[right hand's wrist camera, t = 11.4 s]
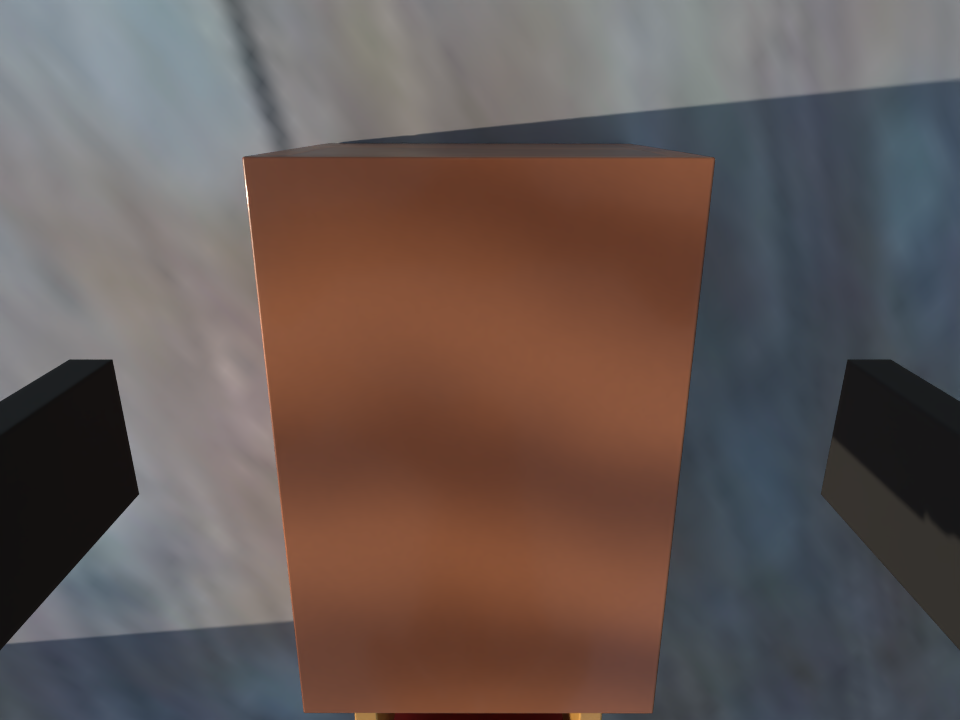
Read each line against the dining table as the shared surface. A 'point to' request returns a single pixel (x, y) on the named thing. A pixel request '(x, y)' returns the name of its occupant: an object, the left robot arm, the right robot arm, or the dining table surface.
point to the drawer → (478, 716)
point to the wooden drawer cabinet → (478, 415)
